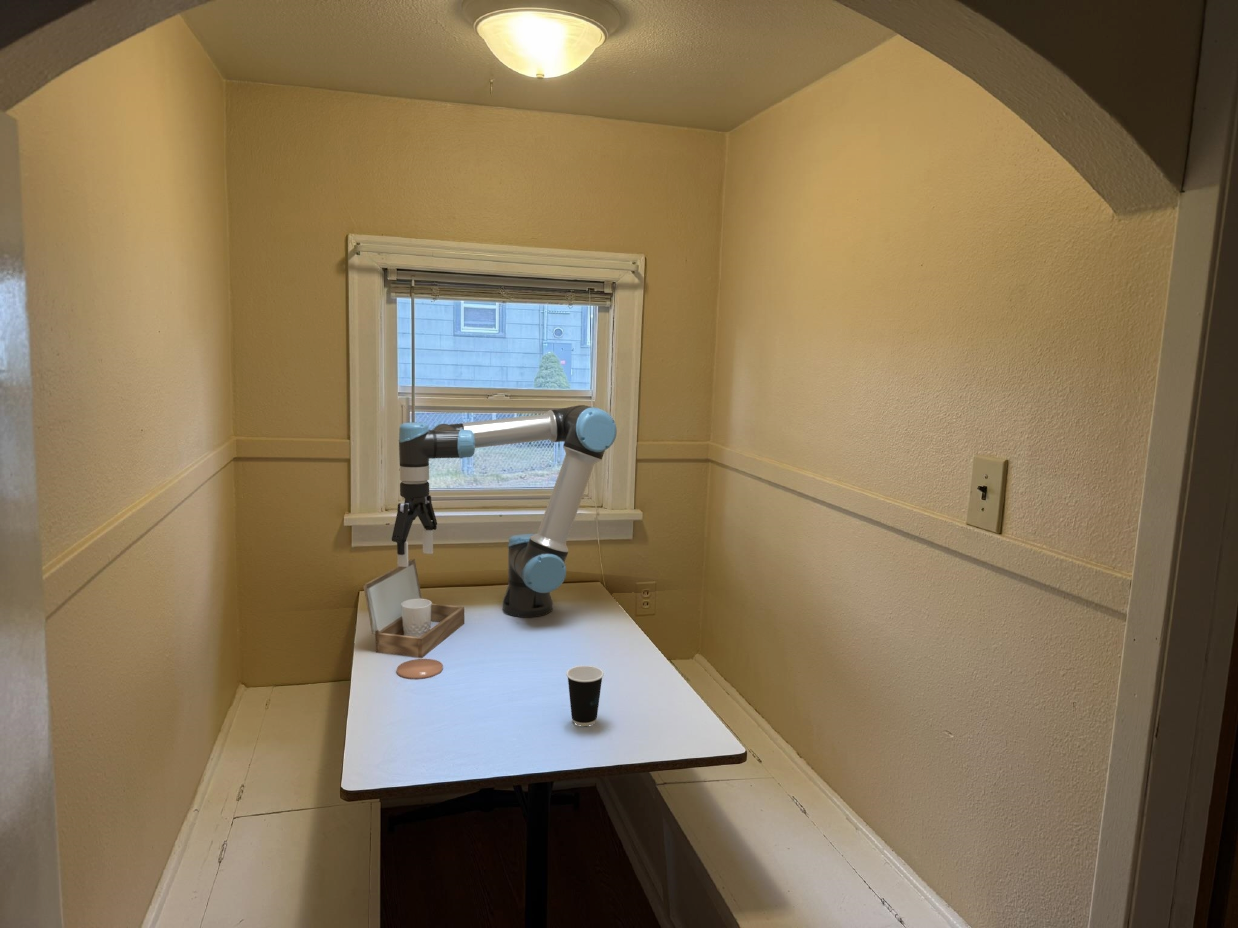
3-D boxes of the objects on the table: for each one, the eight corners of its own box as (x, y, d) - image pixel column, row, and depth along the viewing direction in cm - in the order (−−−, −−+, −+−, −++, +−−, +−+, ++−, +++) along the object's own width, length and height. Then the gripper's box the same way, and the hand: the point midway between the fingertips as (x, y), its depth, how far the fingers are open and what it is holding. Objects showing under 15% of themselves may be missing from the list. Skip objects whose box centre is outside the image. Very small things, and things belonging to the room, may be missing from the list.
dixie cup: (565, 713, 173) (565, 665, 172) (601, 712, 174) (602, 664, 172) (566, 730, 165) (566, 680, 164) (604, 729, 166) (605, 680, 165)
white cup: (414, 646, 209) (414, 610, 208) (395, 639, 214) (395, 603, 212) (438, 638, 215) (437, 602, 214) (419, 631, 220) (418, 596, 219)
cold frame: (464, 623, 227) (464, 604, 226) (422, 657, 202) (421, 635, 201) (422, 619, 230) (422, 599, 229) (375, 652, 205) (375, 630, 204)
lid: (414, 558, 228) (411, 559, 228) (366, 584, 202) (363, 585, 203) (422, 602, 229) (419, 602, 229) (375, 633, 204) (372, 633, 204)
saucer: (450, 663, 198) (450, 661, 198) (430, 681, 188) (430, 678, 188) (410, 658, 201) (410, 656, 201) (388, 676, 190) (388, 673, 190)
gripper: (424, 473, 222) (425, 547, 225) (376, 488, 198) (378, 570, 201) (449, 475, 220) (449, 549, 223) (403, 490, 196) (405, 573, 199)
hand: (415, 559), depth 212 cm, fingers open, 13 cm apart
